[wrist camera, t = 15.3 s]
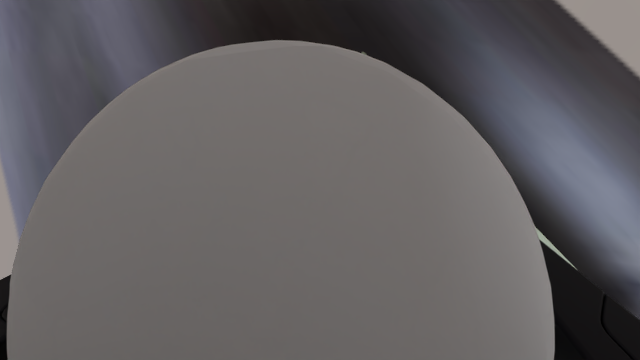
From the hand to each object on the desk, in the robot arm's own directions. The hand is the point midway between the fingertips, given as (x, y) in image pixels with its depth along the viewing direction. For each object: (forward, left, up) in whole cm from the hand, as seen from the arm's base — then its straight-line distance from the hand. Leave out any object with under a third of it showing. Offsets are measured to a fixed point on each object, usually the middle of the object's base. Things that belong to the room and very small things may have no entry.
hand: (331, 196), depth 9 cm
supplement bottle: (-1, -1, -7) cm, 7 cm away
